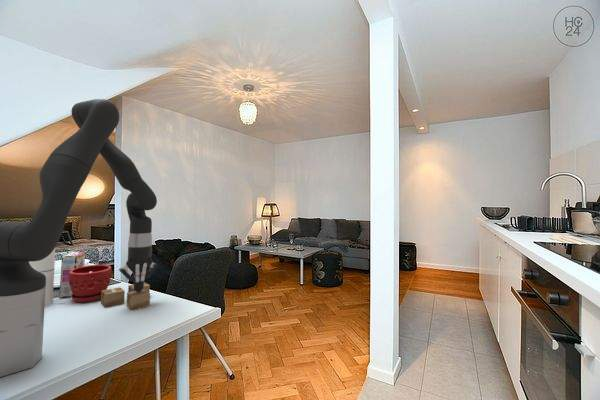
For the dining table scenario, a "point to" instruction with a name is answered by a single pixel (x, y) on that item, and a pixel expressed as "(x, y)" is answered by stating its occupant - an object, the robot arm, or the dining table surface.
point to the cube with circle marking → (146, 287)
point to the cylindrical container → (46, 274)
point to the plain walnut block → (138, 299)
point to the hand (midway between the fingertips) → (138, 291)
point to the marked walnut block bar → (112, 297)
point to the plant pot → (89, 282)
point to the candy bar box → (67, 265)
